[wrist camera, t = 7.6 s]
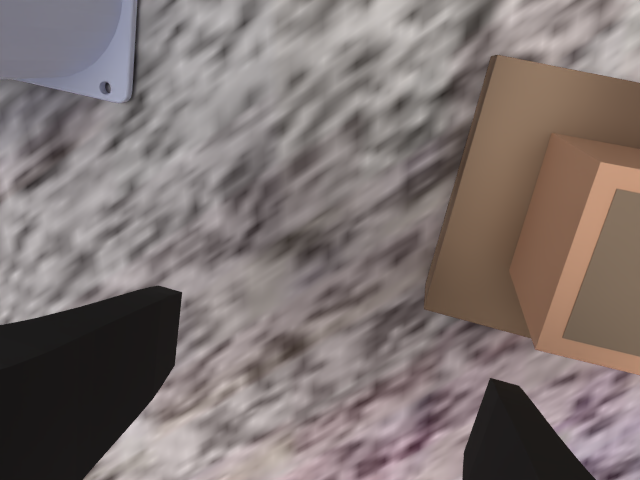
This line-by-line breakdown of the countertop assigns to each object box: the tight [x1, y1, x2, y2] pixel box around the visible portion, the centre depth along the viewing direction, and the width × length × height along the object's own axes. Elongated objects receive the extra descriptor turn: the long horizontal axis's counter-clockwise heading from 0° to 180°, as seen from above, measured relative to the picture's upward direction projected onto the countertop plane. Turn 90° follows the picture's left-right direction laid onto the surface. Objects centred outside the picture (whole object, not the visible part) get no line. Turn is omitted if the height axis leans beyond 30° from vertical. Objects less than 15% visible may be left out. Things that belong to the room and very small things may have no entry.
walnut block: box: [424, 55, 640, 338], centre depth 19 cm, size 9×9×3 cm
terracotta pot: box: [509, 133, 640, 375], centre depth 15 cm, size 5×5×6 cm
